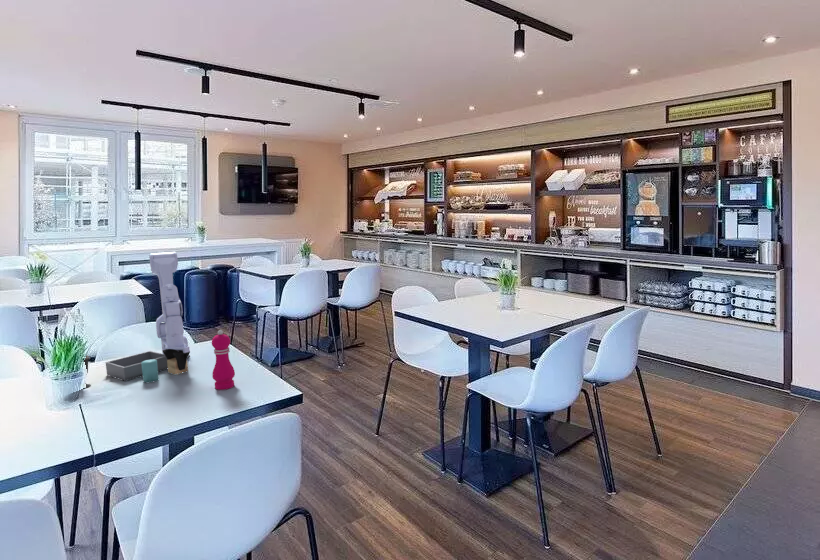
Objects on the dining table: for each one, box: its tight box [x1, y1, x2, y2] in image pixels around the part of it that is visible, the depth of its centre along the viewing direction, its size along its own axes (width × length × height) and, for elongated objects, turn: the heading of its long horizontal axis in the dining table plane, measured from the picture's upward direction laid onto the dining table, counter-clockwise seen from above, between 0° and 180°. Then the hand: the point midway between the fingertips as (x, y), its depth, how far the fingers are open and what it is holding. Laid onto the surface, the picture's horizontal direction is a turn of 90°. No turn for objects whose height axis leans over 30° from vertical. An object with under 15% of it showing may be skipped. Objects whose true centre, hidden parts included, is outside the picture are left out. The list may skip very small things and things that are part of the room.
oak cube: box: [167, 358, 189, 375], centre depth 193 cm, size 5×5×5 cm
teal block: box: [141, 359, 160, 383], centre depth 184 cm, size 5×5×7 cm
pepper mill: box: [211, 329, 236, 391], centre depth 175 cm, size 7×7×20 cm
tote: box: [105, 350, 168, 382], centre depth 195 cm, size 17×13×5 cm
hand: (177, 368), depth 193 cm, fingers closed on oak cube, 5 cm apart
